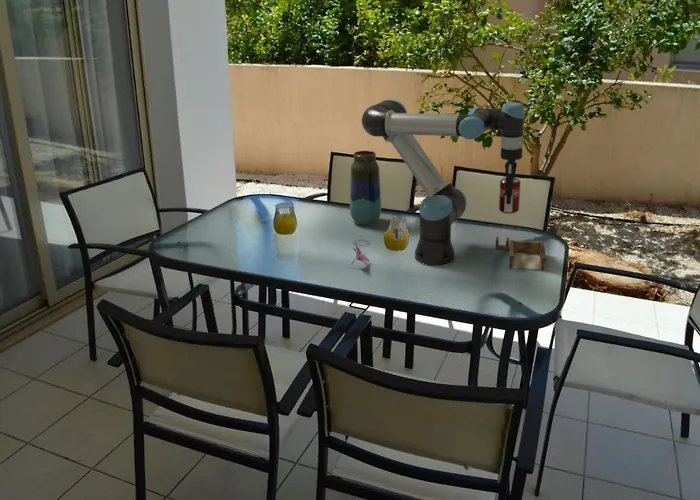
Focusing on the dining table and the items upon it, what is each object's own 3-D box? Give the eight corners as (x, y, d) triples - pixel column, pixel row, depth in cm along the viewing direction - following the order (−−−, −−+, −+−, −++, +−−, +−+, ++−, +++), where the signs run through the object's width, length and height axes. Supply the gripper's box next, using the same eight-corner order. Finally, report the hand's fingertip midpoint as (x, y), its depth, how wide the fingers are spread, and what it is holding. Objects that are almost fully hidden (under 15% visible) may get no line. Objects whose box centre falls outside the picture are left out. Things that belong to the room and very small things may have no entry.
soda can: (518, 214, 229) (520, 182, 225) (498, 213, 231) (499, 182, 227) (519, 208, 236) (520, 177, 231) (499, 207, 238) (500, 176, 233)
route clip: (495, 249, 246) (496, 240, 245) (495, 246, 250) (496, 236, 248) (508, 250, 245) (509, 240, 244) (508, 246, 248) (509, 237, 247)
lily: (360, 279, 227) (372, 256, 225) (334, 262, 231) (346, 240, 228) (371, 275, 238) (383, 254, 236) (346, 259, 242) (357, 238, 239)
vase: (382, 227, 272) (381, 156, 259) (350, 228, 272) (348, 157, 260) (381, 216, 284) (380, 148, 272) (350, 217, 285) (348, 149, 272)
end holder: (509, 268, 230) (510, 255, 228) (509, 252, 243) (510, 239, 241) (544, 271, 227) (545, 257, 225) (542, 254, 241) (543, 242, 239)
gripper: (521, 154, 214) (517, 217, 223) (523, 141, 232) (520, 200, 241) (498, 154, 217) (496, 216, 225) (502, 140, 234) (500, 199, 243)
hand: (508, 208), depth 233 cm, fingers closed on soda can, 7 cm apart
